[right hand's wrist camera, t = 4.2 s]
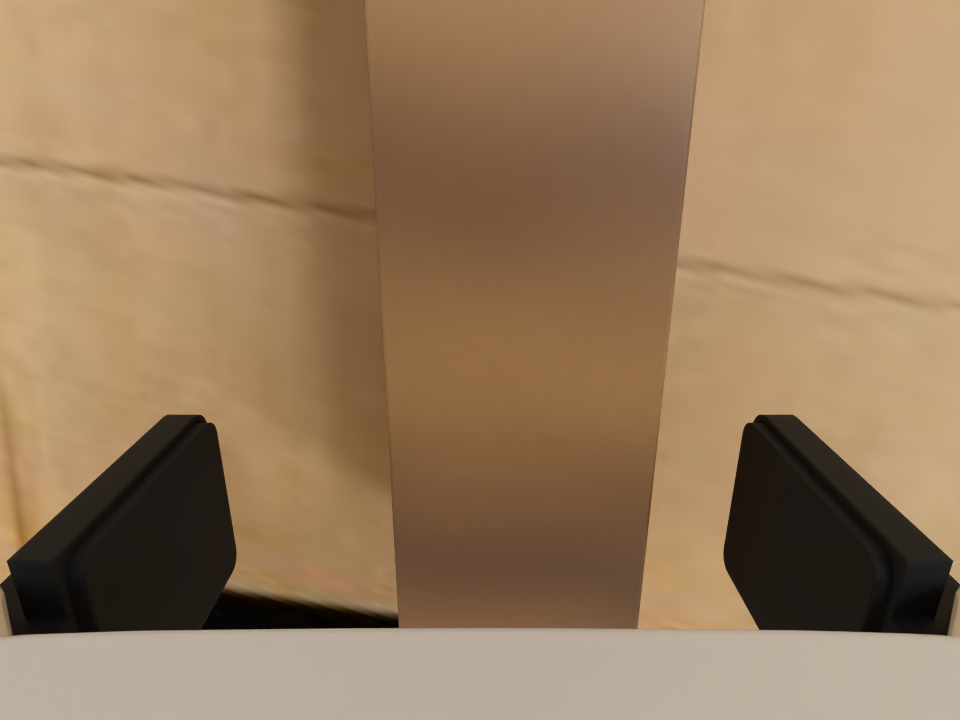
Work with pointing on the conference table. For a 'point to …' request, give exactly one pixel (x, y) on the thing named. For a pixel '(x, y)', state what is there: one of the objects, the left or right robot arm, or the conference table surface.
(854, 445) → the conference table surface
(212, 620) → the conference table surface
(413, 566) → the bar
